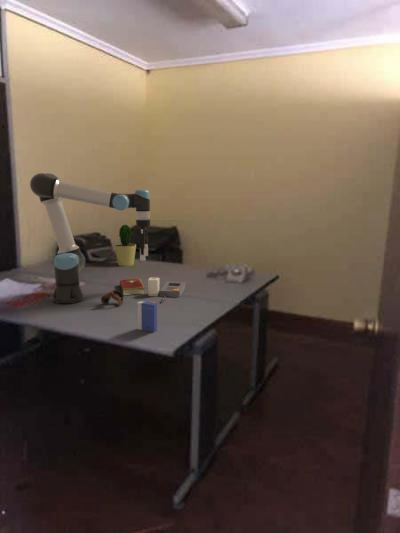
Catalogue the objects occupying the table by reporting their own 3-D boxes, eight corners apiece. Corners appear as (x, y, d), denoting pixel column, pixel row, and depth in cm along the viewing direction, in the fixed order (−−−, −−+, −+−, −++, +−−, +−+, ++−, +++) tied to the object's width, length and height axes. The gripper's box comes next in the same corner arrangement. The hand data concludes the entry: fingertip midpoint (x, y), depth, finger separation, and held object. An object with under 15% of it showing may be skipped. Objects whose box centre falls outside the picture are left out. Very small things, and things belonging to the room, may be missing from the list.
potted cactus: (122, 267, 278) (121, 225, 272) (111, 264, 290) (110, 223, 283) (140, 265, 288) (139, 224, 282) (129, 261, 299) (128, 222, 293)
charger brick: (157, 296, 211) (157, 279, 209) (148, 295, 212) (148, 279, 210) (159, 293, 216) (159, 277, 214) (150, 293, 217) (150, 277, 215)
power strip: (175, 303, 198) (175, 297, 197) (154, 302, 199) (154, 296, 199) (185, 287, 230) (185, 281, 229) (166, 286, 231) (166, 280, 230)
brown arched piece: (110, 301, 202) (118, 288, 200) (121, 312, 198) (129, 299, 196) (93, 301, 192) (101, 287, 190) (104, 313, 188) (112, 299, 186)
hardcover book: (122, 296, 212) (122, 288, 211) (119, 286, 232) (119, 279, 231) (144, 294, 215) (144, 287, 214) (140, 285, 235) (140, 278, 234)
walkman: (157, 329, 163) (157, 302, 161) (154, 332, 161) (153, 304, 158) (140, 327, 166) (140, 300, 164) (137, 329, 164) (136, 301, 161)
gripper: (147, 221, 198) (148, 262, 203) (152, 217, 222) (153, 253, 227) (132, 221, 198) (134, 262, 202) (139, 217, 222) (140, 253, 227)
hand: (144, 258), depth 215 cm, fingers open, 13 cm apart
